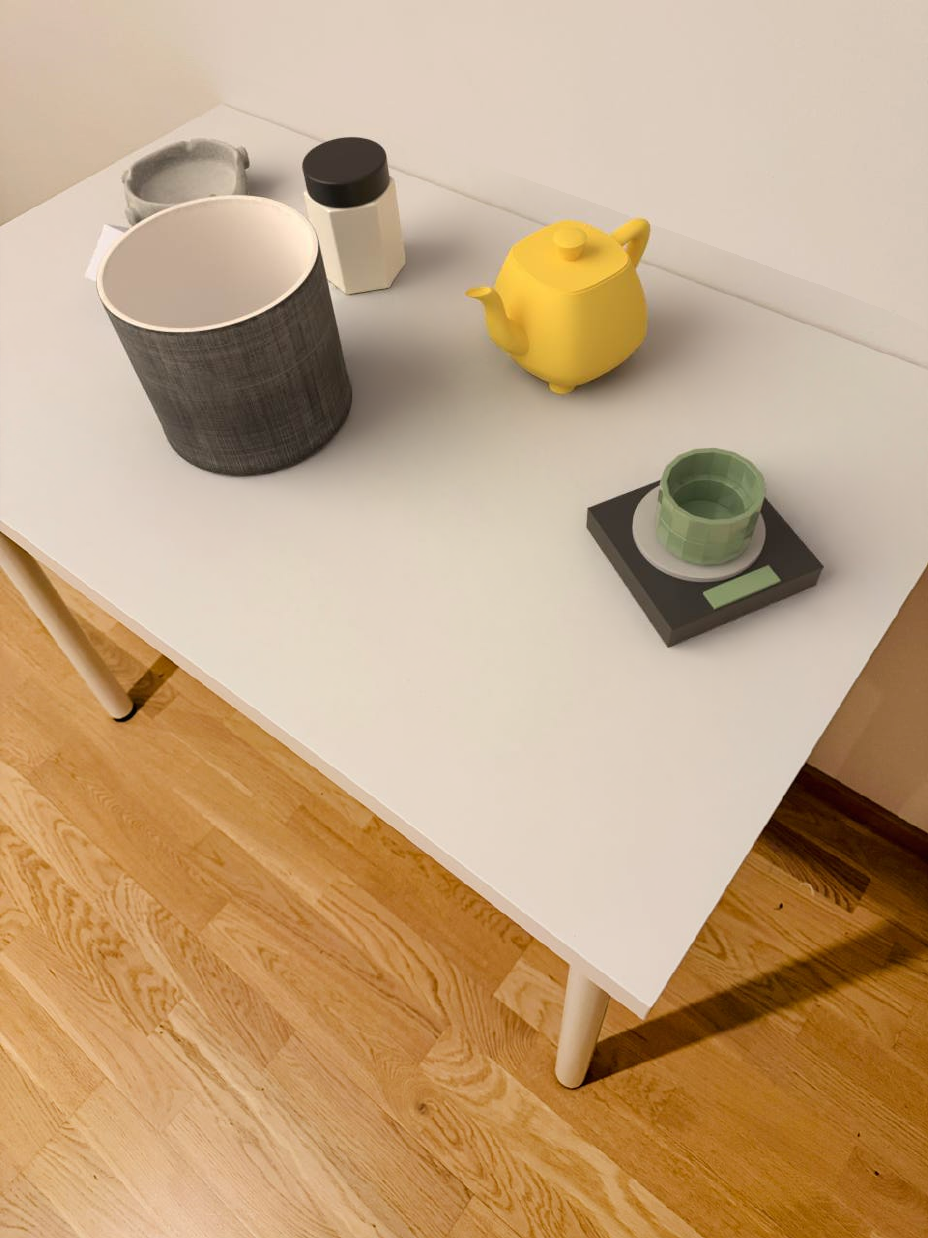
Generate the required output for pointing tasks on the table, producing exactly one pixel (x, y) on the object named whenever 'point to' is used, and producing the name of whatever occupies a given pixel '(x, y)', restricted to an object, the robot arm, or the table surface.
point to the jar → (354, 213)
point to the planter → (230, 331)
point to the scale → (698, 567)
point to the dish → (183, 176)
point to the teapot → (569, 301)
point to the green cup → (708, 505)
